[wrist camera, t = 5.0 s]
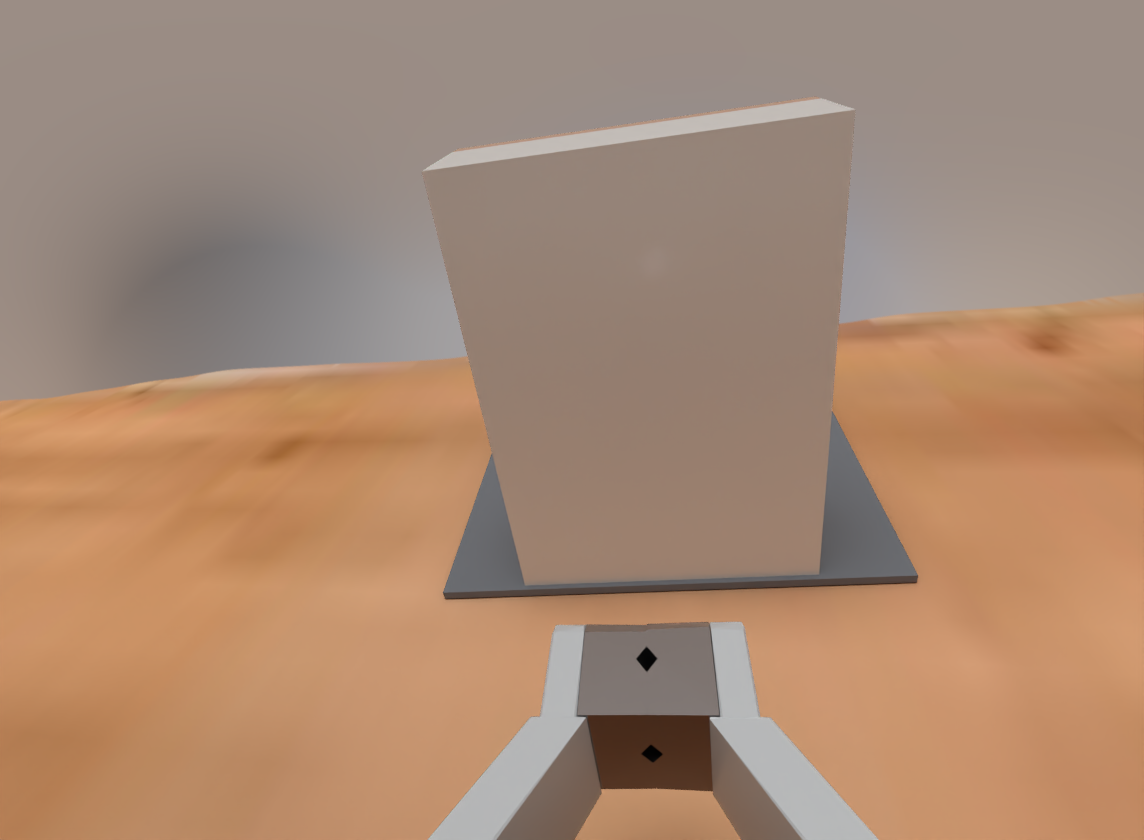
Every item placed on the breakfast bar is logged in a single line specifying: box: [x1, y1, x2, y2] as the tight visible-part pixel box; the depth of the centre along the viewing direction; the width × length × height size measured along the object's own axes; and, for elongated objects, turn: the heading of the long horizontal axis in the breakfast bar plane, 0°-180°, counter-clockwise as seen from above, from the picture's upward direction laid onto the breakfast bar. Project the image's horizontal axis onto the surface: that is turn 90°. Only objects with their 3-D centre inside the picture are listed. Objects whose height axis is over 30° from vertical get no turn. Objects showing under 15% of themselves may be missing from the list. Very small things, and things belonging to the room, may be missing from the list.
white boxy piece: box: [422, 97, 855, 586], centre depth 20 cm, size 10×4×14 cm, turn 85°
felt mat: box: [443, 412, 918, 599], centre depth 28 cm, size 16×16×1 cm
